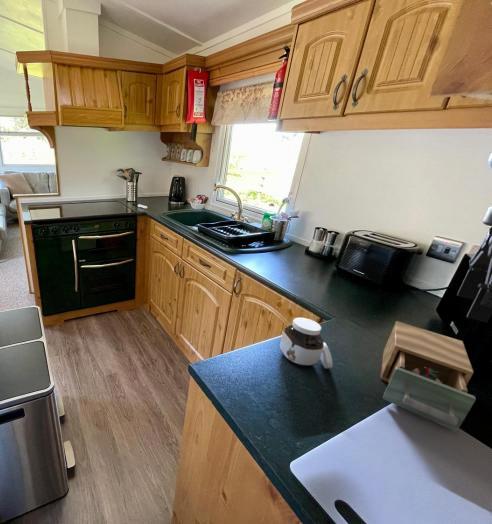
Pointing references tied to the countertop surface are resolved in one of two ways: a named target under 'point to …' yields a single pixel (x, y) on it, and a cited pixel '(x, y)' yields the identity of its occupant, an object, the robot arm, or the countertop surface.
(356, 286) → the countertop surface
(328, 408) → the countertop surface
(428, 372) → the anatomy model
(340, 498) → the countertop surface
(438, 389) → the drawer
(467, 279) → the robot arm
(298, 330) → the spread jar
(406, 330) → the cabinet
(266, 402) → the countertop surface
